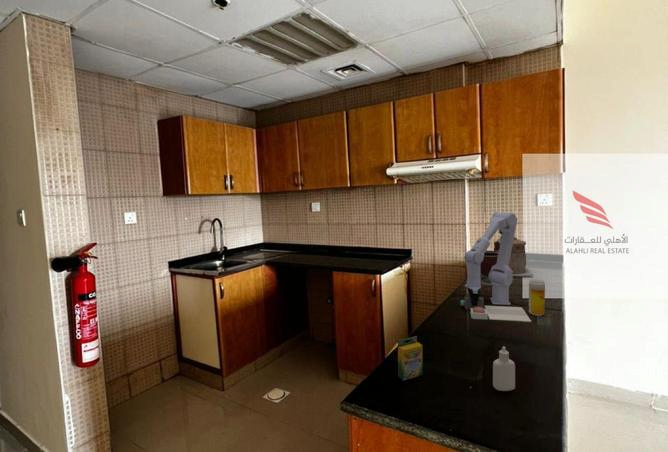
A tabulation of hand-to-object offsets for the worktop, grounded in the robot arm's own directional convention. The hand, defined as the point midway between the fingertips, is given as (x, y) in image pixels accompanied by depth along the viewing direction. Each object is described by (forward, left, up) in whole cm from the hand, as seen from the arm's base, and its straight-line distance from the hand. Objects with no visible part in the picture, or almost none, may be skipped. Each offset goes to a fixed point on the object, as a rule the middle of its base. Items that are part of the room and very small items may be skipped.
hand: (474, 304), depth 166 cm
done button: (+11, +1, 0) cm, 11 cm away
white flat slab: (+5, +13, -2) cm, 14 cm away
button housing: (+11, +1, -2) cm, 11 cm away
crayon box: (+68, -24, -2) cm, 72 cm away
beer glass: (+4, +25, -2) cm, 26 cm away
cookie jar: (-76, +28, -2) cm, 81 cm away
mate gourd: (-49, +12, -2) cm, 51 cm away
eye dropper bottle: (+69, +2, -2) cm, 69 cm away
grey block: (0, 0, -2) cm, 2 cm away
